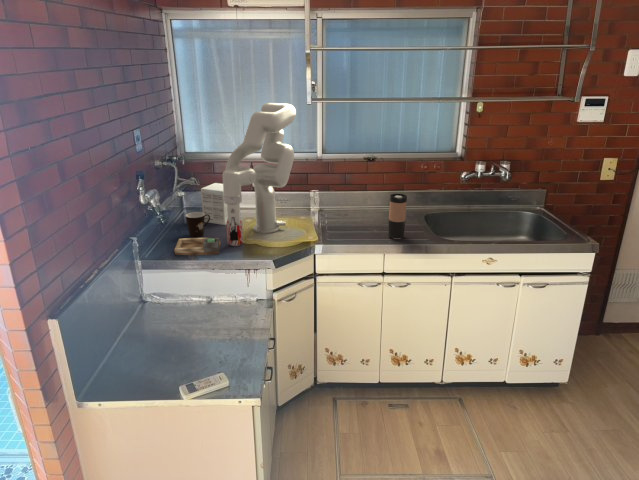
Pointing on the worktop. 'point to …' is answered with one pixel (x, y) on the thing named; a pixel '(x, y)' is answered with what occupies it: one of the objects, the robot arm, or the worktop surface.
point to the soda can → (240, 234)
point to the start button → (211, 240)
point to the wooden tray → (197, 246)
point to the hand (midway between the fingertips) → (234, 236)
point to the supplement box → (214, 204)
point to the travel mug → (397, 215)
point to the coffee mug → (196, 223)
